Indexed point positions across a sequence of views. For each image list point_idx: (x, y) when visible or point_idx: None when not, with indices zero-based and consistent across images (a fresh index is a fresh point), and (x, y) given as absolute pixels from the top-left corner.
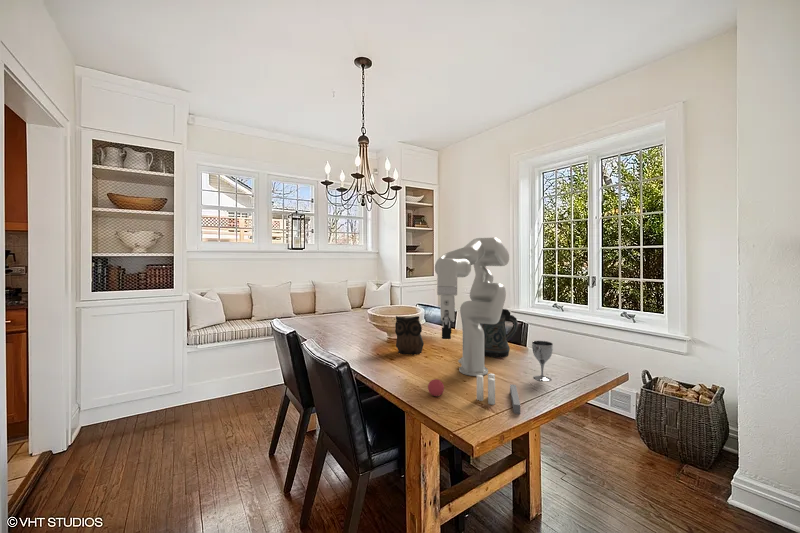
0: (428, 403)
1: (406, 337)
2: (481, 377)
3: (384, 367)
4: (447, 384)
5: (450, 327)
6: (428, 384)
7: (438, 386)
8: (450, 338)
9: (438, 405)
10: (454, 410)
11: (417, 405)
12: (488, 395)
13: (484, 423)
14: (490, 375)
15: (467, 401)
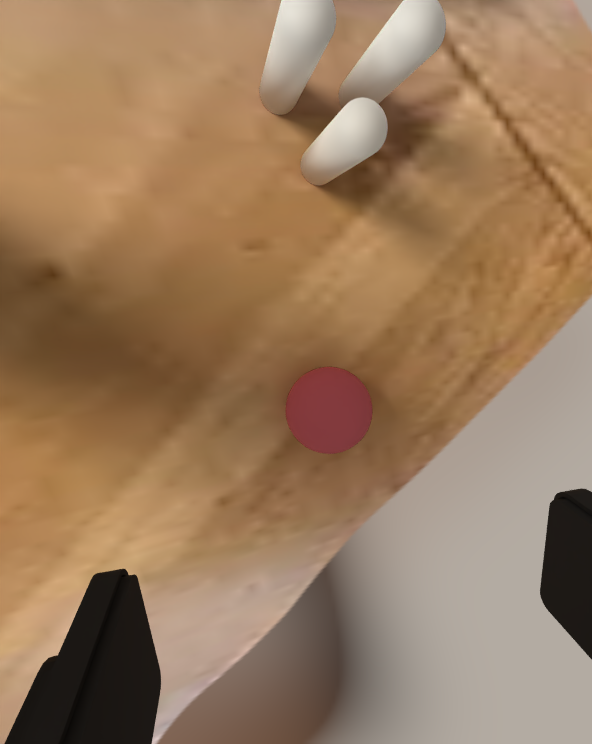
0: (404, 407)
1: None
2: (384, 115)
3: (6, 727)
4: (148, 368)
5: (97, 711)
6: (338, 452)
7: (368, 397)
8: (585, 491)
9: (418, 363)
10: (457, 288)
11: (428, 443)
12: (382, 99)
13: (561, 145)
14: (332, 27)
15: (355, 235)
